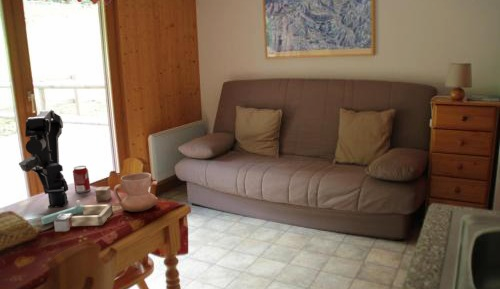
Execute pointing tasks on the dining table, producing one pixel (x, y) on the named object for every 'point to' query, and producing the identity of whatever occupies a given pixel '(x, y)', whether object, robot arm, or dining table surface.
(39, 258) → the dining table surface
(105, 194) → the light wood block
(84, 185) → the soda can
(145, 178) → the ceramic jug
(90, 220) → the cream c-clamp frame
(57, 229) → the grey hooked piece
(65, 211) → the link
